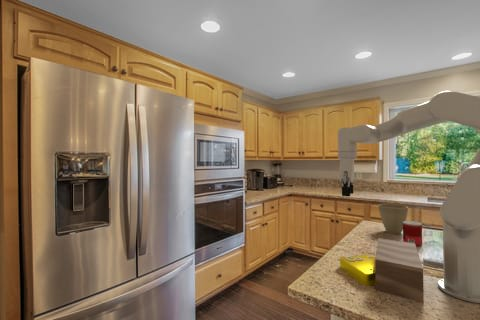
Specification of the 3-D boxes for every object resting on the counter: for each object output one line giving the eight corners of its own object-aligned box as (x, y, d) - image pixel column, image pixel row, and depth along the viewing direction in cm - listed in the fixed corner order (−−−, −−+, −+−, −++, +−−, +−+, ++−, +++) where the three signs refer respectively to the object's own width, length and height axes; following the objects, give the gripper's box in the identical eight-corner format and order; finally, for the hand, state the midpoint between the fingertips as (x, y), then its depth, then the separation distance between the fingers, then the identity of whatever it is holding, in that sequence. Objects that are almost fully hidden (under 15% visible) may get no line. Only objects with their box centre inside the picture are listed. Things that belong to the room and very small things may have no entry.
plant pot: (395, 228, 144) (395, 203, 145) (415, 235, 130) (414, 207, 130) (373, 228, 143) (372, 203, 144) (390, 236, 129) (389, 208, 129)
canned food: (426, 246, 113) (425, 224, 113) (410, 246, 113) (409, 224, 113) (414, 241, 121) (414, 220, 121) (399, 241, 121) (399, 220, 121)
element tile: (364, 287, 78) (364, 273, 78) (337, 267, 93) (337, 255, 93) (401, 282, 81) (401, 269, 81) (370, 264, 96) (369, 252, 96)
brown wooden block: (378, 262, 97) (378, 237, 97) (415, 269, 90) (414, 243, 90) (375, 290, 76) (375, 259, 76) (423, 302, 69) (423, 268, 69)
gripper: (341, 156, 109) (341, 191, 109) (334, 155, 95) (334, 196, 95) (358, 155, 105) (359, 192, 105) (354, 155, 91) (354, 198, 91)
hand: (347, 194), depth 100 cm, fingers open, 9 cm apart
